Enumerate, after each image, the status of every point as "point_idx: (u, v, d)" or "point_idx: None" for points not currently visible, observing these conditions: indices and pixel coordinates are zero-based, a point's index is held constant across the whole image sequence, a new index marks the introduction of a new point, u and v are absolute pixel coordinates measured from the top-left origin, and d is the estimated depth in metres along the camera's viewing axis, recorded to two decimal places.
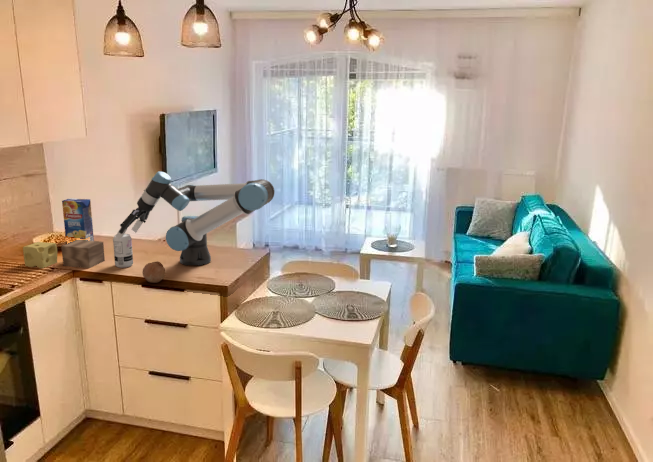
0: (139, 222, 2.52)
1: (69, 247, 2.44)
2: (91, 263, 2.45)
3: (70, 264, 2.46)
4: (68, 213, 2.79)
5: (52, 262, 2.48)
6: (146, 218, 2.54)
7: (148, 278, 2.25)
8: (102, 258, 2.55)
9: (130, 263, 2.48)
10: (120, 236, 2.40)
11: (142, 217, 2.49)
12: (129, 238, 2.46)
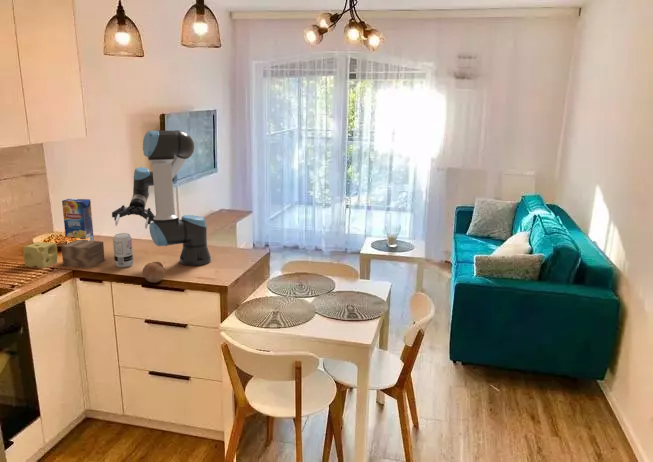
0: None
1: (69, 247, 2.44)
2: (91, 263, 2.46)
3: (70, 264, 2.46)
4: (68, 213, 2.79)
5: (52, 262, 2.48)
6: (152, 216, 2.58)
7: (148, 278, 2.25)
8: (102, 258, 2.55)
9: (130, 263, 2.48)
10: (116, 220, 2.48)
11: (144, 214, 2.58)
12: (129, 238, 2.45)
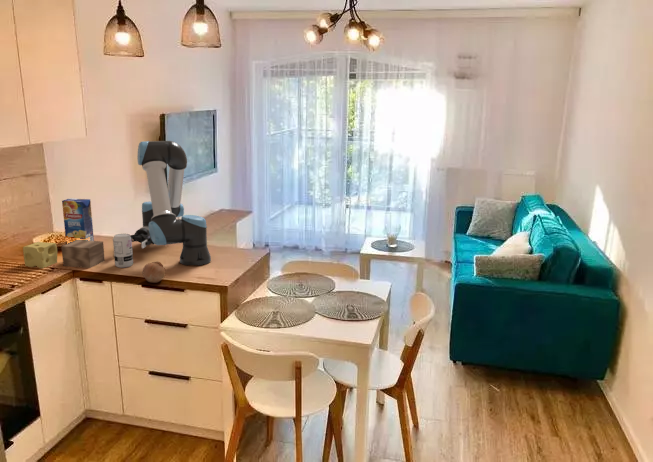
0: None
1: (69, 247, 2.44)
2: (91, 263, 2.46)
3: (70, 264, 2.46)
4: (68, 213, 2.79)
5: (52, 262, 2.48)
6: (152, 239, 2.64)
7: (148, 278, 2.25)
8: (102, 258, 2.55)
9: (130, 263, 2.48)
10: None
11: (145, 239, 2.65)
12: (129, 238, 2.46)
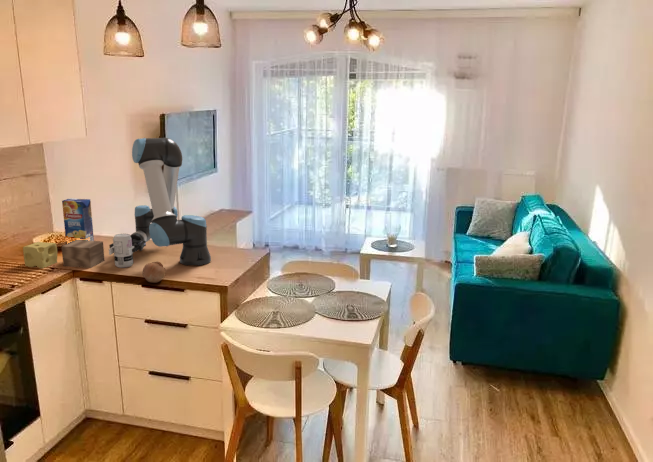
0: None
1: (69, 247, 2.44)
2: (92, 263, 2.46)
3: (70, 264, 2.46)
4: (68, 213, 2.79)
5: (52, 262, 2.48)
6: (139, 245, 2.52)
7: (148, 278, 2.25)
8: (102, 258, 2.55)
9: (130, 263, 2.48)
10: None
11: (134, 245, 2.54)
12: (129, 238, 2.46)
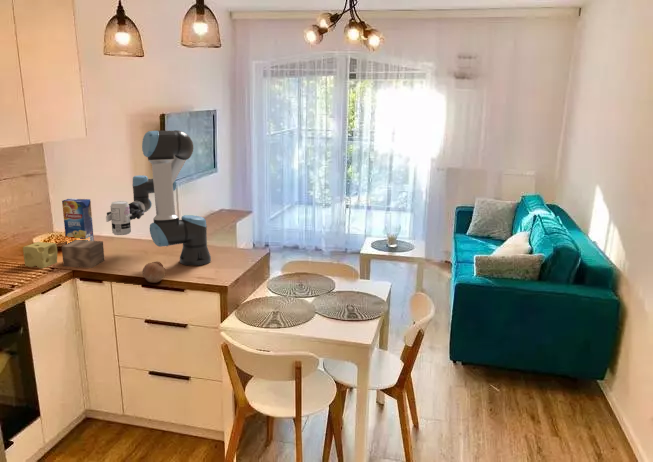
0: None
1: (70, 247, 2.44)
2: (92, 263, 2.46)
3: (71, 264, 2.46)
4: (68, 213, 2.79)
5: (52, 262, 2.48)
6: (137, 213, 2.48)
7: (148, 278, 2.25)
8: (102, 258, 2.55)
9: (127, 231, 2.44)
10: None
11: None
12: (127, 205, 2.42)
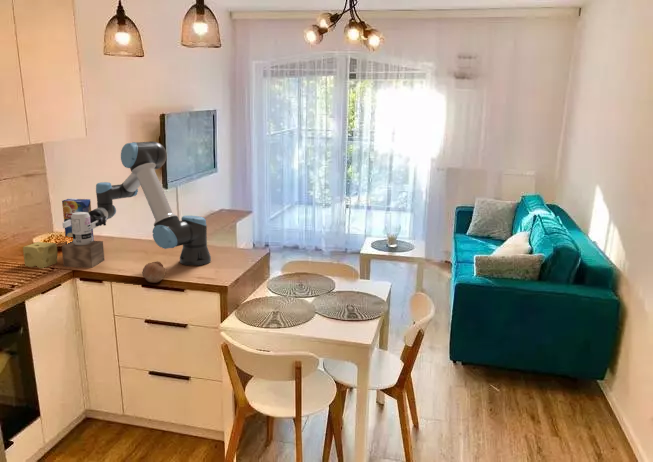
0: None
1: (70, 247, 2.44)
2: (93, 263, 2.46)
3: (71, 264, 2.46)
4: (68, 213, 2.79)
5: (52, 262, 2.48)
6: (103, 220, 2.52)
7: (148, 278, 2.25)
8: (102, 258, 2.55)
9: (88, 241, 2.47)
10: None
11: (96, 220, 2.53)
12: (87, 216, 2.45)
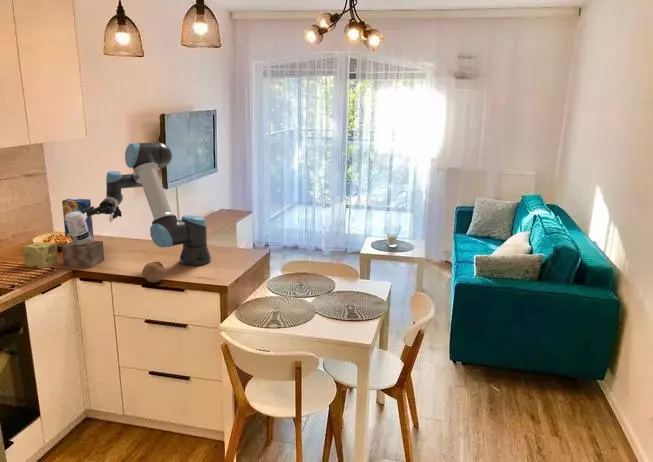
0: None
1: (70, 247, 2.44)
2: (93, 263, 2.46)
3: (71, 264, 2.46)
4: None
5: (52, 262, 2.48)
6: (118, 211, 2.64)
7: (148, 278, 2.25)
8: (102, 258, 2.55)
9: (85, 241, 2.45)
10: None
11: (111, 211, 2.65)
12: (79, 217, 2.40)
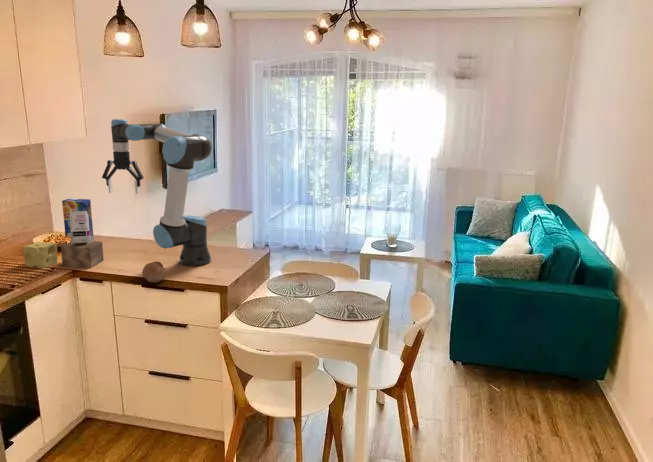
0: None
1: (69, 248, 2.43)
2: (92, 263, 2.46)
3: (70, 265, 2.45)
4: (68, 213, 2.79)
5: (52, 262, 2.48)
6: (139, 176, 2.60)
7: (148, 278, 2.25)
8: (102, 258, 2.55)
9: (79, 239, 2.44)
10: None
11: None
12: (79, 213, 2.44)
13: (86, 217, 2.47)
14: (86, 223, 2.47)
